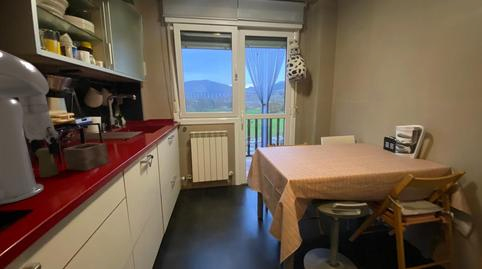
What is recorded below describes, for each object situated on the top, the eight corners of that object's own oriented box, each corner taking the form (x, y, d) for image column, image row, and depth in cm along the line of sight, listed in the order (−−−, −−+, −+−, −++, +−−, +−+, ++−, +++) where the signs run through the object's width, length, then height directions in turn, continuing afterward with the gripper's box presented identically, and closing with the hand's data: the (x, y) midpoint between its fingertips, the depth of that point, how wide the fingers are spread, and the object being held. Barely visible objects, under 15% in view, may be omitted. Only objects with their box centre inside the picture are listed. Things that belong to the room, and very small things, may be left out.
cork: (62, 170, 91) (56, 145, 89) (55, 175, 85) (49, 149, 83) (44, 173, 89) (38, 147, 87) (36, 178, 83) (29, 151, 81)
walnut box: (86, 170, 90) (82, 149, 88) (67, 168, 93) (63, 148, 91) (109, 162, 100) (105, 143, 98) (91, 161, 103) (87, 142, 101)
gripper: (8, 110, 81) (20, 153, 85) (39, 110, 76) (50, 156, 80) (31, 108, 88) (41, 148, 92) (62, 108, 83) (71, 150, 87)
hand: (45, 152), depth 86 cm, fingers open, 9 cm apart
